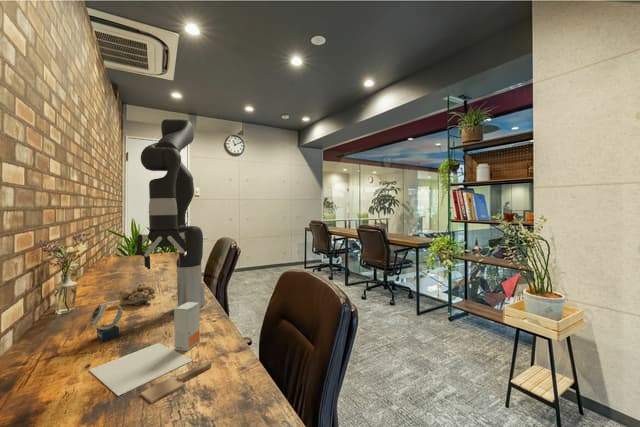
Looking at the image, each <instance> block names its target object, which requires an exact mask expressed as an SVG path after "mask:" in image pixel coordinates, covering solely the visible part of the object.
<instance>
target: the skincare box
mask: <svg viewBox="0 0 640 427" xmlns="http://www.w3.org/2000/svg"><path fill="white" fill-rule="evenodd" d="M173 316H174V317H173V323H174V351H180V352H182V351H183V352H188V351H189V350H191V349H192V348H193V347H195V346H196V345H197V344H199V343H200V342H201V329H200V328H201V327H200V325H201V324H200V321H201V320H200V318H201V317H200V308H199V303H194V302H187V303H185V304H182V305H180V306H179V307H178V306H177V307H175V308H173Z"/></svg>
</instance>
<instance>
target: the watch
mask: <svg viewBox="0 0 640 427" xmlns="http://www.w3.org/2000/svg"><path fill="white" fill-rule="evenodd" d="M109 305H116V306H117V308H118V310H117V312H116V316H115V318H114V319H113V321H112V323H110V324H106V325H103V326H98V325H97V324H98V322H99V321H100V320H101V319H102V317H103V316H104V314H105V310H106V309H107V307H108V306H109ZM123 313H124V312H123V307H122V305H119V304H118V303H117V302H113V301H106V302H103V303H101V304H99V305H97V306H96V307H95V308H94V310H92V313H91V316H90V322H91V324H92V325H93V326H94V327H95V328H96V338H97V340H99V341H100V342H101V343H106V342H109V341H113V340H115V339H119V338H120V328H119V326H117V325H118V323H119V322H120V321H121V319H122V317H123Z"/></svg>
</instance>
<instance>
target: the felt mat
mask: <svg viewBox="0 0 640 427" xmlns="http://www.w3.org/2000/svg"><path fill="white" fill-rule="evenodd" d="M191 362H193V359H191V358H189V357H188V356H185V355H183V354H181V353H179V351H177V350H175V349H172V348H170V347H167V346H166V345H163V344H162V343H160V342H157V343H155V344H152V345H150V346H146V347H145V348H142V349H139V350H136V351H135V352H132V353H129V354H127V355H124V356H120V357H118V358H116V359H113V360H111V361H108V362H105V363H103V364H100V365H97V366H95V367H93V368H90V369H88V371H89V372H90V373H91V374H92V375H93V376H94V377H95V378H97V380H99V381H100V382H101V383H102V384H104V385H105V386H106V387H107V388H108V389H109V390H110V391H111V392H113V393H114V394H115V395H116V396H117V397H121V396H122V394H123V395H125V394H126V393H128V392H131V391H133V390H135V389H138V388H140V387H141V386H143V385H144V386H145V384H148V383H149V382H151V381H154V380H157V379H158V378H160V377H163V376H164V375H166V374H168V373H171V372H173V371H175V370H177V369H179V368H181V367H183V366H185V365H188V364H189V363H191ZM120 395H121V396H120Z"/></svg>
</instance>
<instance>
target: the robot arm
mask: <svg viewBox="0 0 640 427" xmlns="http://www.w3.org/2000/svg"><path fill="white" fill-rule="evenodd" d="M160 125H161V126H160V129H161V130H160V131H161V138H160V139H159V140H158V141H157V142H154V143H151V144H148V145H147V146H145V147H144V148H143V150H142V151H141V154H140V163H141V165H142V167H144V168H145V169H146V170H148V171H151V172H166V174H165V175H164V176H162V177H158V178H153V179H151V180H149V183H148V189H149V190H148V191H149V192H148V193H149V197H148V198H149V199H148V201H149V202H148V221H149V222H148V223H149V226H148V227H149V232H148V233H147V234H142V233H139V234H137V237H136V255H137V256H140V257H141V256H142V257H144V258H143V261H144V262H143V263H144V267H145V268H146V269H147V270H151V256H150V255H151V253H152V252H153V251H154V250H155V249H156V248H158V249H160V248H164V247H165V248H171V247H174V248H175V249H176V250H177V251H178V259H176V284H177V286H176V287H177V289H176V290H177V307H179V306H180V305H182V304H185V303H187V302H194V303H199V309H200V308H202V307H203V306H205V305H206V304H205V303H206V301H205V282H203V276H202V275H203V273H202V272H203V271H202V261H203V254H204V236H203V235H204V233H203V231H202V228H201V227H199V226H196V225H186V215H187V210H188V208H189V206H190V204H191V202H192V200H193V198H194V194H195V187H194V185H195V184H194V178H193V175H192V174H191V172H190V170H189V169H188V168H187V167H186V165H185V164H184V163H183V162H182V156H181V151H182V150H183V149H184V148H185V147H187V146H188V145H190V144H192V143H193V141H194V137H195V133H194V126H193V124H192V122H191V121H189V120H188V119H182V118H181V119H178V118H177V119H176V118H175V119H173V118H170V119H169V118H168V119H167V118H166V119H163V120H162V121H161V124H160ZM146 239H148V240H149V241H150V242H151V243H150V245H149V246H148V247H147V248H146V250H145V251H144V250H143V243H144V242H146Z"/></svg>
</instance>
